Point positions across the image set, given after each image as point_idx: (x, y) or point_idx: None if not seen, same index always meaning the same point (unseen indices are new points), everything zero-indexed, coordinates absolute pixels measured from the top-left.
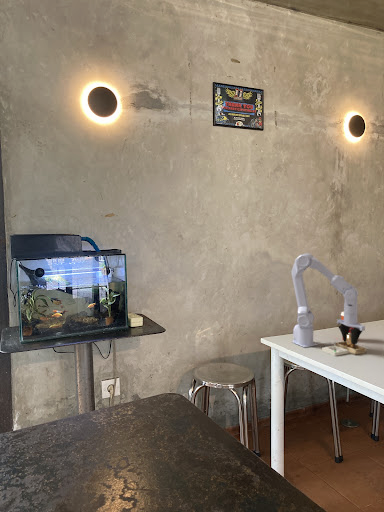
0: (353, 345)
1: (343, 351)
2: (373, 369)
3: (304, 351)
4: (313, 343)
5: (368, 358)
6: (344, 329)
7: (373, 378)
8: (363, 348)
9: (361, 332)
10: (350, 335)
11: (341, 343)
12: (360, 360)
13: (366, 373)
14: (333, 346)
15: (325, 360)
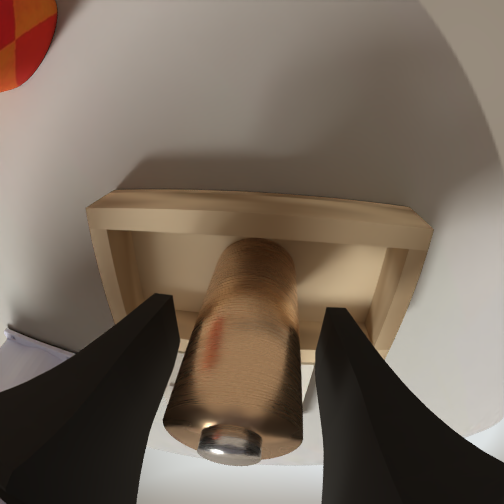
0: (297, 300)
1: (303, 395)
2: (497, 380)
3: (162, 437)
4: (62, 360)
5: (467, 304)
6: (122, 488)
7: (494, 413)
8: (420, 264)
9: (477, 450)
10: (279, 455)
11: (124, 279)
12: (436, 365)
13: (476, 413)
14: (174, 375)
15: (304, 453)
